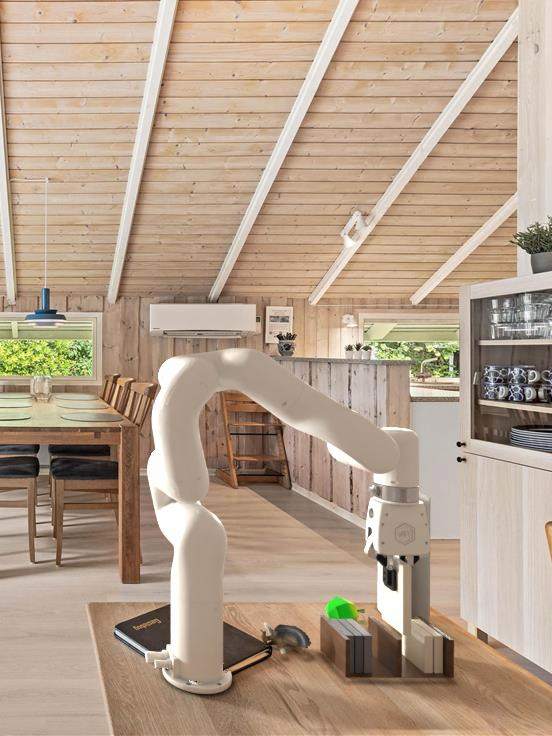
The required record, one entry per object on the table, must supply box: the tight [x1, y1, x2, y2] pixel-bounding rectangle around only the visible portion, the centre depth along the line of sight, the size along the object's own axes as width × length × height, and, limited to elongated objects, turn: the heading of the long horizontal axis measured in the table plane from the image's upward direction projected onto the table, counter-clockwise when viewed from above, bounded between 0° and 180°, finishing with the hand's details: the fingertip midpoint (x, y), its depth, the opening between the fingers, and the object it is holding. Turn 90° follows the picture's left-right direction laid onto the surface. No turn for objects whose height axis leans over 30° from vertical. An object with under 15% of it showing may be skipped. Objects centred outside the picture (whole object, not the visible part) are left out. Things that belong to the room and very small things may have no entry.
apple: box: [325, 595, 368, 624], centre depth 138 cm, size 7×6×9 cm
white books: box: [401, 619, 443, 673], centre depth 120 cm, size 4×7×7 cm, turn 0°
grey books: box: [327, 618, 372, 673], centre depth 120 cm, size 5×7×7 cm
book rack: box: [319, 614, 455, 679], centre depth 120 cm, size 20×10×8 cm, turn 90°
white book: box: [381, 556, 411, 636], centre depth 120 cm, size 2×7×13 cm, turn 0°
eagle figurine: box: [259, 622, 312, 656], centre depth 125 cm, size 8×7×9 cm
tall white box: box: [377, 490, 431, 623], centre depth 139 cm, size 14×6×30 cm, turn 168°
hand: (396, 587), depth 120 cm, fingers closed on white book, 1 cm apart
